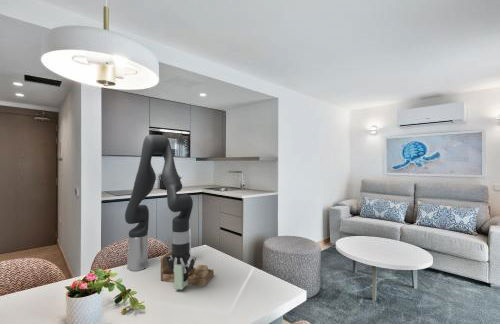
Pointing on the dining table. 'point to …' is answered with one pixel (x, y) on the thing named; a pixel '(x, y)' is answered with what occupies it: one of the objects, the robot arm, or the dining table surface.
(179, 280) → the pale green block
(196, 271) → the offcut
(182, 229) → the robot arm
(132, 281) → the dining table surface
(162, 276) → the rack
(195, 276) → the offcut
